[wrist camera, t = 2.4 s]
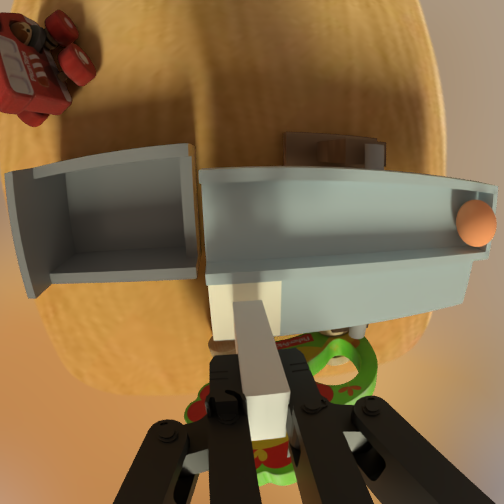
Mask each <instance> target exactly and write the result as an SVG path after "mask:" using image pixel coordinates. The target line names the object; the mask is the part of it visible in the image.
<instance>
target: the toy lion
mask: <svg viewBox="0 0 504 504" xmlns="http://www.w3.org/2000/svg"><path fill="white" fill-rule="evenodd" d="M275 344H276V347H277V350H279V349H288V348H297V349H298V350H299V351H301V352H302V353H303V354H304V356H305V359H306V361H307V364H308V366H309V368H310V371H311V373H312V375H313V376H314V375H315V374H317V373H318V372H319V371H320V370H321V369H323V368H324V367H325V365H326V364H327V365H341V364H344V363H346V362H348V361H349V360H351V361H352V362H353V364H354V365H355V366H356V368H357V370H358V372H359V373H358V374H357V376H356V377H355V378H354V379H352V380H351V381H349V382H347V383H345V384H341V385H324V384H321V383H318V382H316V385H317V387H318V389H319V392H320V394H321V395H322V396H324V397H325V398H327V399H328V400H329V402H331V403H334V404H341V405H354V404H355V403H356V401H357V400H358V399H360V398H361V397H364V396H372V394H373V391H374V388H375V385H376V377H377V367H378V364H377V358H376V355H375V352H374V350H373V348H372V347H371V345H370V343H369V342H368V340H367V339H366V338H365V336H364V337H363V338H361V339H354V338H351V337H350V336H349V331H344V332H338V333H332V331H331V330H325V331H318V332H310V333H304V334H301V335H299V336H296V337H293V338H289V339H285V340H280V341H275ZM208 347H209V349H210V352H211V354H212V356H213V357H214V355H229V354H236V347H235V340H222V341H214V340H213V336H212V337H211V338H210V340H209V342H208ZM209 389H210V383H208V384H206V385H204V386H203V387H202V388H201V389H200V391H199V393H198V397H197V399H196V400H195V401H193V402H191V403H190V404H189V405H188V407H187V408H186V410H185V414H184V418H185V421H186V423H187V424H189V423H192V422H195V421H198V420H200V419H201V418H203V417H204V416H205V415H206V414H207V412H206V407H205V399H206V396H207V395H208V394H209ZM288 443H289V438H288V434H287V431H286V437H282V438H274V439H266V440H257V441H252V447H253V454H254V460H255V466H256V472H257V479H258V485H259V486H262V485H265V484H266V483H273V484H276V485H281V486H284V485H290V484H293V483H295V482H297V480H296V476H295V472H294V468H293V464H292V460H291V456H290V457H288V458H287V451H288Z"/></svg>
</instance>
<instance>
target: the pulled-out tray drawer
mask: <svg viewBox="0 0 504 504" xmlns="http://www.w3.org/2000/svg"><path fill="white" fill-rule="evenodd" d="M5 186H6V196H7V204H8V212H9V219H10V225H11V231H12V236H13V241H14V246H15V251H16V255H17V259H18V264H19V267H20V272H21V275H22V279H23V282H24V286H25V289H26V293H27V296H28V298H34V299H36V298H37V297H38V296H39V295H40V294H41V293H42V292H43V291H45V290H46V289H47V288H48V287H49V286H50V285H51V284H66V283H105V282H134V281H159V280H181V279H197V275H198V269H199V263H200V257H201V241H200V227H199V211H198V194H197V174H196V147H195V146H193V145H191V144H189V143H182V144H170V145H160V146H151V147H143V148H135V149H128V150H121V151H114V152H108V153H102V154H96V155H90V156H85V157H80V158H75V159H70V160H65V161H60V162H56V163H52V164H47V165H43V166H39V167H35V168H30V169H23V170H17V171H11V172H8V173H5Z"/></svg>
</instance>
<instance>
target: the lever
mask: <svg viewBox="0 0 504 504" xmlns="http://www.w3.org/2000/svg"><path fill="white" fill-rule="evenodd" d="M198 171H199V184H201V186H202V205H203V222H204V237H205V251H206V271H205V278H206V286H208V291H209V302H210V312H211V322H212V331H213V340H214V341H222V340H235V334H234V318H233V302H239V301H254V300H262V302H263V305H264V308H265V311H266V315H267V318H268V321H269V324H270V328H271V331H272V334H273V337H274V336H284V335H293V334H301V333H310V332H318V331H325V330H332V329H339V328H346V327H350V328H349V336H350V337H351V338H354V339H361V338H363V337H364V335H365V330H366V325H367V324H370V323H376V322H381V321H387V320H392V319H397V318H402V317H407V316H412V315H416V314H421V313H425V312H430V311H434V310H438V309H442V308H446V307H451V306H454V305H458V304H462V303H463V300H464V296H465V293H466V289H467V285H468V281H469V277H470V273H471V268H472V263H473V261H478V260H485V259H488V257H489V252H490V247H491V241H492V240H491V241H490V242H489V243H487V244H486V245H484V246H481V247H473V246H470V245H468V244H466V243H465V242H464V241H463V240H462V239H461V237H460V236H459V234H458V231H457V227H456V217H457V214H458V211H459V209H460V208H461V206H462V205H463V204H464V203H466V202H467V201H470V200H481V201H484V202H485V203H487V204H488V205H489V206H490V207H491V208H492V210H493V212H494V214H495V215H496V206H497V195H498V186H495V185H491V184H486V183H482V182H477V181H471V180H465V179H458V178H452V177H445V176H437V175H429V174H421V173H412V172H401V171H390V170H384V145H379V144H365V169H363V168H345V167H317V166H250V167H222V168H204V169H200V170H198Z"/></svg>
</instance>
